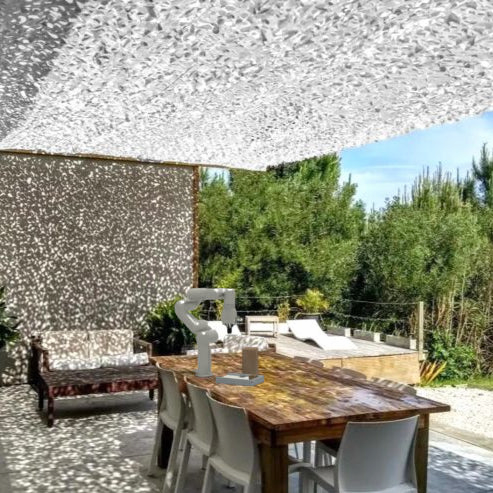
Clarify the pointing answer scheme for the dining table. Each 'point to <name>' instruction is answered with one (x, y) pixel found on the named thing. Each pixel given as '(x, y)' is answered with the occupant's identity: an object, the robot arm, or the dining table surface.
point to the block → (250, 360)
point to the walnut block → (252, 376)
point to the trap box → (239, 379)
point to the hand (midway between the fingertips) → (229, 333)
